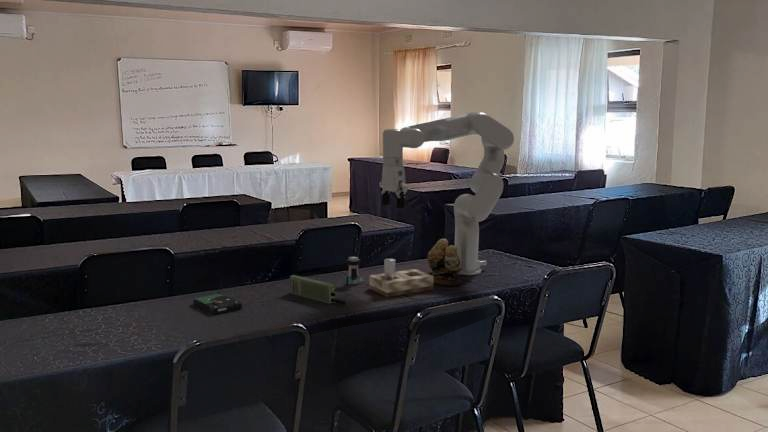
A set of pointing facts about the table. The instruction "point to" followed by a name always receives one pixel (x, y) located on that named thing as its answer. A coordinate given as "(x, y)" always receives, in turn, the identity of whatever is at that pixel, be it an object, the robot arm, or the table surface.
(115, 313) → the table surface
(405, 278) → the socket block
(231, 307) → the disk drive
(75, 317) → the table surface
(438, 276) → the tan lumpy piece
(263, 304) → the table surface
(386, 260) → the pin
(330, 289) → the handheld radio
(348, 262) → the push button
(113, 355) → the table surface
